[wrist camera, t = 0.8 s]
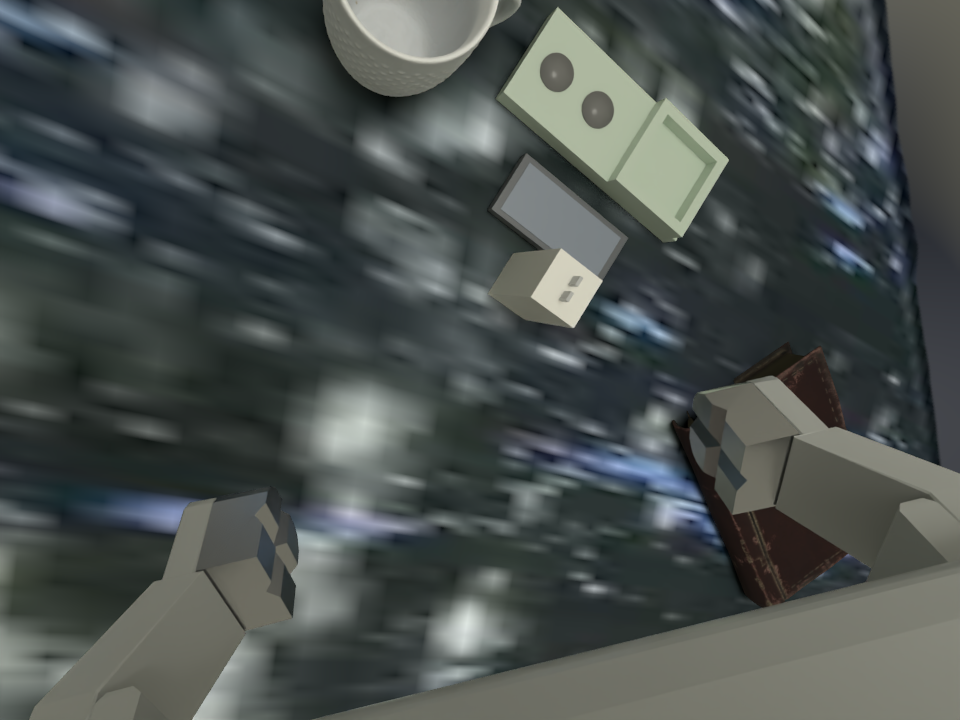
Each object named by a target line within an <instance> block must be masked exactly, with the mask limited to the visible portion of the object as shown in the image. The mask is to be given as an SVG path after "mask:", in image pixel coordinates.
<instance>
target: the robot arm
mask: <svg viewBox="0 0 960 720" xmlns="http://www.w3.org/2000/svg"><path fill="white" fill-rule="evenodd" d="M692 409H693V410H694V412H695V413H696V415H697V416H698V417H697V418H696V420H695V421H694V422H693V423H692V424H691V426H690V438H689V439H690V444H691V448H692V453H693V455H694V457H695V459H696V462H697V463H698V465H699V466H700V468H701V469H702V471H703V472H705V473H707V474H709V475H711V476H713V477H715V478H716V481H715V488H714V489H715V490H716V492H717V493H718V495H719V496H720V498H721V499H722V500H723V502H724V503H725V505H726V506H727V508H728V509H729V511H730V512H731V514H732V515H735V514H740V513H744V512H749V511H754V510H759V509H764V508H769V507H774V506H776V509H777V510H779V511H781V512H782V513H784V514H785V515H787V516H789V517H790V518H792V519H793V520H795V521H797V522H798V523H800V524H802V525H803V526H805V527H806V528H808V529H810V530H811V531H813V532H814V533H816V534H818V535H819V536H821V537H822V538H824V539H826V540H827V541H829V542H830V543H832V544H834V545H835V546H837V547H838V548H840V549H842V550H843V551H845V552H847V553H848V554H850V555H851V556H853V557H855V558H856V559H858V560H859V561H861V562H863V563H864V564H866V565H867V566H869V567H871V568H872V569H871V571H870V573H869V576H868V578H867V580H866V583H862V584H858V585H854V586H850V587H845V588H841V589H837V590H833V591H829V592H825V593H821V594H817V595H813V596H809V597H805V598H801V599H797V600H793V601H789V602H785V603H781V604H777V605H773V606H769V607H765V608H761V609H757V610H753V611H749V612H744V613H740V614H736V615H732V616H728V617H724V618H720V619H716V620H712V621H708V622H704V623H700V624H696V625H692V626H688V627H684V628H680V629H676V630H672V631H668V632H664V633H660V634H656V635H652V636H648V637H644V638H640V639H636V640H632V641H628V642H624V643H620V644H615V645H611V646H607V647H603V648H599V649H595V650H591V651H587V652H583V653H579V654H575V655H571V656H567V657H563V658H559V659H555V660H551V661H547V662H543V663H539V664H535V665H531V666H527V667H523V668H519V669H515V670H511V671H506V672H502V673H498V674H494V675H490V676H486V677H482V678H478V679H474V680H470V681H466V682H462V683H458V684H454V685H450V686H446V687H442V688H438V689H434V690H430V691H426V692H422V693H418V694H414V695H409V696H405V697H401V698H397V699H393V700H389V701H385V702H381V703H377V704H373V705H369V706H365V707H361V708H357V709H353V710H349V711H345V712H341V713H337V714H333V715H329V716H325V717H320V718H316V719H312V720H960V474H959V473H956V472H954V471H951V470H948V469H946V468H943V467H940V466H938V465H935V464H933V463H930V462H927V461H925V460H922V459H919V458H917V457H914V456H912V455H909V454H906V453H904V452H901V451H899V450H896V449H893V448H891V447H888V446H885V445H883V444H880V443H878V442H875V441H872V440H870V439H867V438H864V437H862V436H859V435H857V434H854V433H851V432H849V431H846V430H843V429H841V428H838V427H833V428H828V427H827V426H826V425H825V424H824V423H823V422H822V421H821V420H820V419H819V418H818V417H817V416H816V415H815V414H814V413H813V412H812V411H811V410H810V409H809V408H808V407H807V406H806V405H805V404H804V403H803V402H802V401H801V400H800V399H799V398H798V397H797V396H796V395H795V394H794V393H792V392H791V391H790V390H789V389H788V388H787V387H786V386H785V385H784V384H783V383H782V382H781V381H780V380H779V379H778V378H776V377H774V376H767V377H763V378H758V379H754V380H750V381H746V382H742V383H738V384H733V385H729V386H724V387H720V388H716V389H711V390H707V391H703V392H698V393H697V394H696V395H695V397H694V399H693V407H692ZM281 504H282V498H281V496H280V495H279V493H278V491H277V489H276V487H271V486H270V487H265V488H260V489H255V490H250V491H245V492H240V493H234V494H229V495H224V496H219V497H217V498H212V499H207V500H202V501H196V502H191V503H189V504H188V506H187V507H186V508H185V509H184V511H183V514H182V518H181V521H180V524H179V527H178V530H177V534H176V537H175V540H174V543H173V547H172V550H171V553H170V556H169V559H168V563H167V566H166V569H165V572H164V575H163V579H162V580H159V581H155V582H153V583H152V584H151V585H150V586H149V587H148V588H147V589H146V590H145V591H144V593H143V594H142V595H141V596H140V597H139V598H138V599H137V600H136V601H135V602H134V603H133V604H132V605H131V606H130V607H129V608H128V609H127V610H126V611H125V613H124V614H123V615H122V616H121V617H120V618H119V619H118V620H117V621H116V622H115V623H114V624H113V625H112V626H111V627H110V628H109V629H108V630H107V631H106V632H105V634H104V635H103V636H102V637H101V638H100V639H99V640H98V641H97V642H96V643H95V644H94V645H93V646H92V647H91V648H90V649H89V650H88V651H87V652H86V653H85V655H84V656H83V657H82V658H81V659H80V660H79V661H78V662H77V663H76V664H75V665H74V666H73V667H72V668H71V669H70V670H69V671H68V672H67V673H66V675H65V676H64V677H63V678H62V679H61V680H60V681H59V682H58V683H57V684H56V685H55V686H54V687H53V688H52V689H51V690H50V691H49V692H48V693H47V694H46V696H45V697H44V698H43V699H42V700H41V701H40V702H39V703H38V704H37V705H36V706H35V707H34V710H33V712H32V714H31V717H30V719H29V720H192V719H193V717H194V715H195V714H196V712H197V711H198V709H199V707H200V706H201V704H202V703H203V701H204V699H205V698H206V696H207V695H208V693H209V691H210V690H211V688H212V687H213V685H214V683H215V682H216V680H217V679H218V677H219V675H220V674H221V672H222V671H223V669H224V667H225V666H226V664H227V663H228V661H229V659H230V658H231V656H232V655H233V653H234V651H235V650H236V648H237V647H238V645H239V644H240V642H241V640H242V639H243V637H244V636H245V634H246V633H245V631H246V630H250V629H254V628H258V627H262V626H265V625H269V624H273V623H277V622H281V621H284V620H288V619H292V618H293V608H294V598H295V588H296V585H295V583H294V581H293V579H292V577H291V576H290V574H291V572H292V571H293V570H294V569H295V567H296V566H297V565H298V553H299V549H298V539H297V533H296V529H295V526H294V523H293V521H292V519H291V517H290V515H289V514H287V513H285V512H283V511H281Z"/></svg>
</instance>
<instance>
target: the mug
mask: <svg viewBox="0 0 960 720" xmlns="http://www.w3.org/2000/svg"><path fill="white" fill-rule="evenodd" d="M520 4H521V0H323V13H324V18H325V26H326V28H327V34H328V37H329V39H330V42H331V45H332V47H333V49H334V51H335V53H336V56H337V57H338V58H339V60H340V62H341V64H342V65H343V66H344V68H345V69H346V71H348V73H349V74H350V75H351V76H352V77H353V78H354V79H355V80H357V81H358V82H359V83H360V84H361V85H362V86H364V87H366V88H367V89H369V90H372V91H373V92H377V93H378V94H381V95H385V96H391V97H392V96H394V97H403V96H411V95H414V94H419V93H421V92H425V91H427V90H429V89H430V88H434V87H435V86H436V85H437V84H439V83H441V82H443V81H444V80H445V78H448V77H449V76H450V75H451V74H452V73H453V72H454V71H455V70H457V69H458V67H459V66H460V65H461V64H463V62H464V61H465V60H466V58H468V57H469V56H470V54H471V53H472V51H473V50H474V49H475V48H476V47H477V46H478V43H479V42H480V41H481V39H482V38H483V37H484V35H485V34H486V32H487V31H488V29H489V27H492V26H494V25H496V24H498V23H500V22H502V21H504V20H505V19H507V18H509V17H510V16H511V15H513V14H514V13H515V12H516V11H517V9H518V8H519V6H520Z"/></svg>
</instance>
